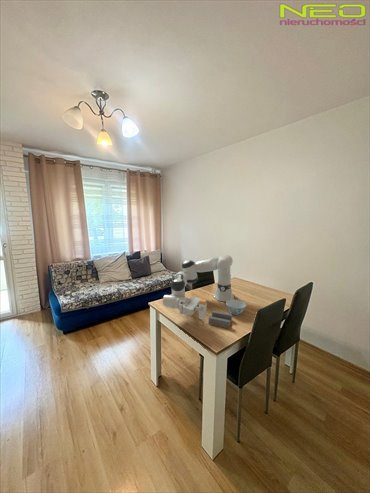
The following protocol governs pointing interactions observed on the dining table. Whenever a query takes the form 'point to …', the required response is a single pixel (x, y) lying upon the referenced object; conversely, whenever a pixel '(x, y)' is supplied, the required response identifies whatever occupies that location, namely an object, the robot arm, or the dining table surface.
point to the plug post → (203, 304)
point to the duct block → (220, 319)
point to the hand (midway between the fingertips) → (204, 307)
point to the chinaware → (236, 306)
